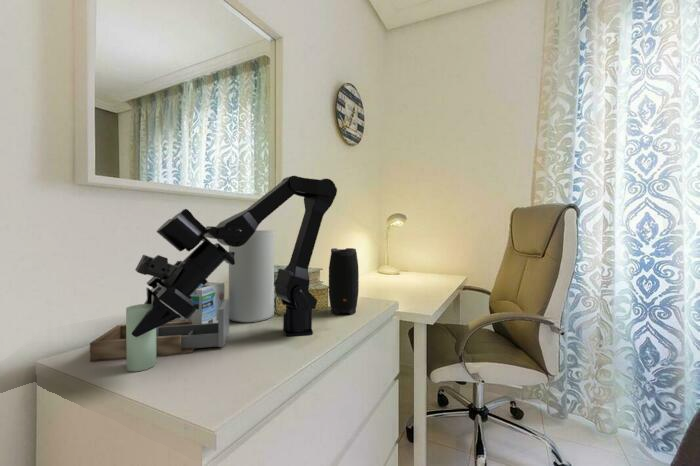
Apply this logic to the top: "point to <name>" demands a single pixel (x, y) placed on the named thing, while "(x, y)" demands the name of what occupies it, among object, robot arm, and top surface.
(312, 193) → the robot arm
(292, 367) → the top surface
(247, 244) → the cylinder vase
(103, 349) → the dock
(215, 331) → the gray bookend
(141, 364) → the pale green cylinder
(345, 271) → the portable speaker
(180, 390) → the top surface
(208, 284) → the light bulb box
